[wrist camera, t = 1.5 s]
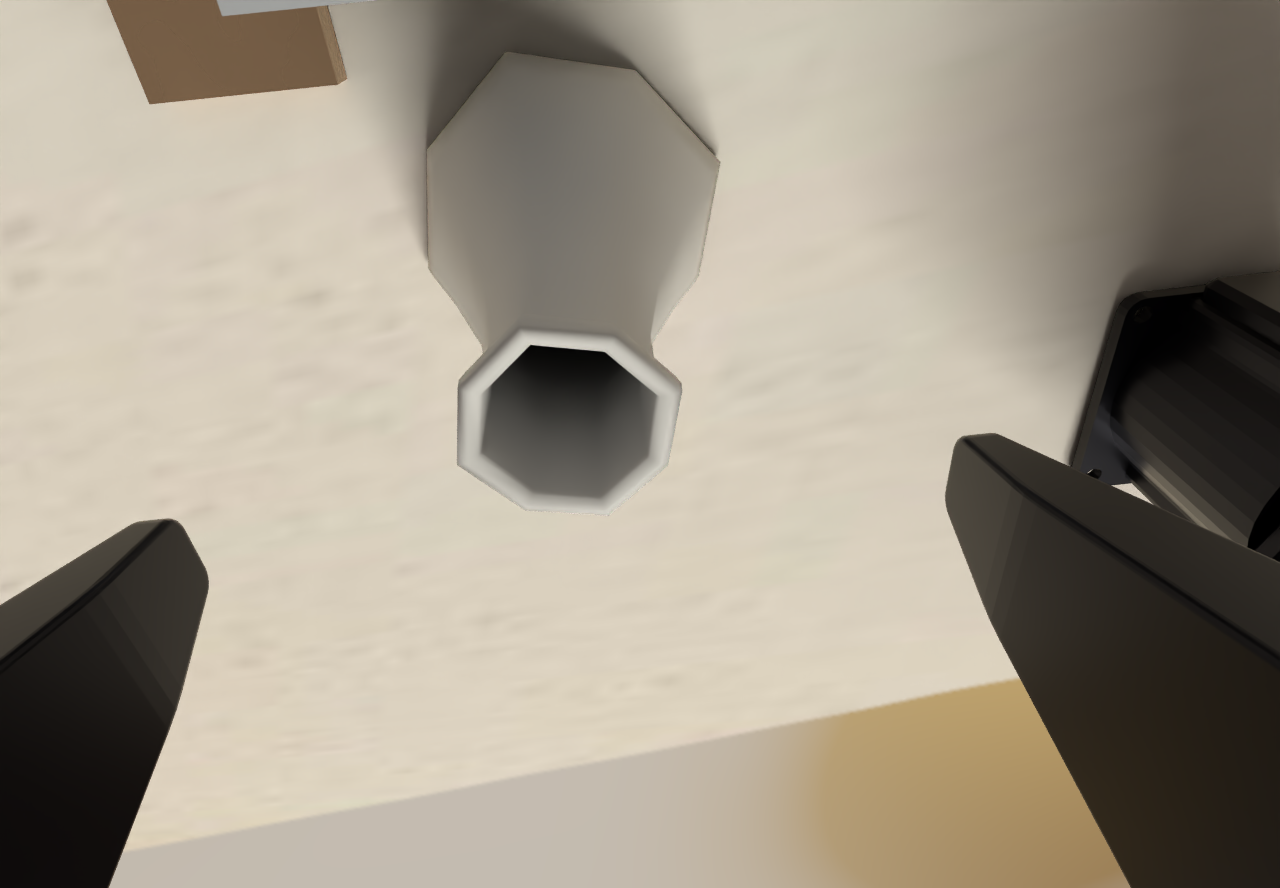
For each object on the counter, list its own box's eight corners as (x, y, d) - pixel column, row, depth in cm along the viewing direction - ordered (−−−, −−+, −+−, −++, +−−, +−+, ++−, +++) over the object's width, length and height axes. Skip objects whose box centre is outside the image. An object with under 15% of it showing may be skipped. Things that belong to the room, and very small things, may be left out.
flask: (384, 280, 20) (245, 535, 11) (482, -15, 16) (383, 41, 8) (636, 381, 22) (675, 657, 13) (769, 140, 18) (929, 312, 10)
